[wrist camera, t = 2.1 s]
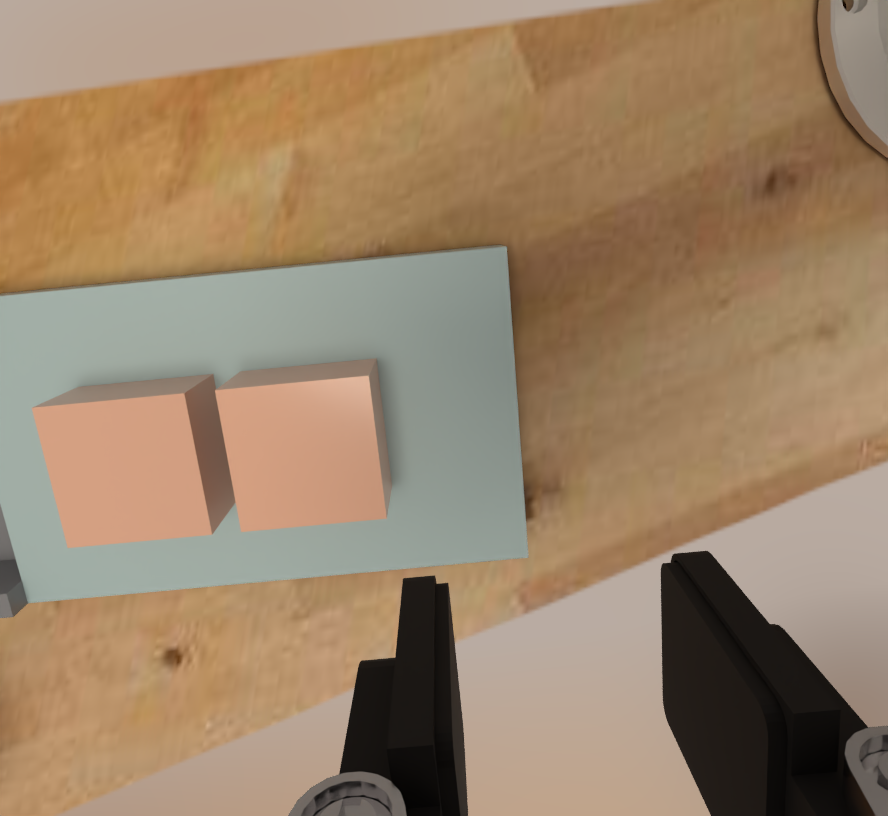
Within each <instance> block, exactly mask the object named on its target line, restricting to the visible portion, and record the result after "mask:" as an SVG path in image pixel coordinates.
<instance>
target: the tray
mask: <svg viewBox="0 0 888 816" xmlns="http://www.w3.org/2000/svg"><path fill="white" fill-rule="evenodd" d="M27 604H28V601H27V598H26V594H25V590H24V587H23V583H22V580H21V576H20V573H19V569H18V565H17V562H16V558H15V555H14V551H13V548H12V544H11V540H10V537H9V533H8V530H7V526H6V523H5V519H4V515H3V512H2V508H1V505H0V618H7V617H14V616H15V615H16V614H17V613H18V612H19V611H20V610H21V609H22V608H23V607H24V606H26V605H27Z"/></svg>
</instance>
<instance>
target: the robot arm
mask: <svg viewBox="0 0 888 816" xmlns="http://www.w3.org/2000/svg"><path fill="white" fill-rule="evenodd" d="M844 1H845V3H846V10H845V8H844V7H843V3H842V0H819V4H818V16H817V21H818V32H819V42H820V53H821V58H822V61H823V65H824V68H825V72H826V75H827V79H828V82H829V86H830V89H831V91H832V92H833V94H834V96H835V98H836V100H837V102H838V104H839V106H840V108H841V110H842V112H843V114H844V116H845V117H846V118H847V120H848V121H849V122H850V123H851V124H852V126H853V127H854V128H855V129H856V131H857V132H858V133H859V134H860V135H861V137H862V138H863V139H864V140H865V141H866V142H867V143H868V144H870V145H871V146H872V147H874V148H875V149H876V150H878V151H879V152H880V153H881V154H883V155H884V156H885V157H887V158H888V0H844ZM661 603H662V604H661V606H662V607H661V609H662V610H661V611H662V666H663V667H662V674H663V704H664V710H665V715H666V718H667V721H668V724H669V726H670V728H671V730H672V732H673V735H674V737H675V738H676V741H677V743H678V745H679V747H680V750H681V752H682V754H683V756H684V758H685V760H686V763H687V765H688V767H689V769H690V771H691V773H692V775H693V778H694V780H695V782H696V784H697V786H698V788H699V791H700V793H701V795H702V797H703V799H704V801H705V804H706V806H707V808H708V810H709V812H710V814H711V816H888V726H878V727H867V725H866V724H865V723H864V722H863V721H862V720H861V719H860V718H859V716H858V715H857V714H856V713H855V712H854V710H853V709H852V708H851V707H850V706H849V705H848V703H847V702H846V701H845V700H844V699H843V698H842V696H841V695H840V694H839V693H838V692H837V691H836V689H835V688H834V687H833V686H832V685H831V684H830V682H829V681H828V680H827V679H826V678H825V677H824V675H823V674H822V673H821V672H820V671H819V670H818V668H817V667H816V666H815V665H814V664H813V663H812V662H811V660H810V659H809V658H808V657H807V656H806V654H805V653H804V652H803V651H802V650H801V649H800V647H799V646H798V645H797V644H796V643H795V642H794V640H793V639H792V638H791V637H790V636H789V635H788V634H787V633H786V631H785V630H784V629H783V628H781V627H780V626H779V625H775V624H769V623H768V622H767V620H766V619H765V618H764V617H763V616H762V614H761V613H760V612H759V611H758V610H757V609H756V607H755V606H754V605H753V604H752V602H751V601H750V600H749V599H748V598H747V596H746V595H745V594H744V593H743V592H742V590H741V589H740V588H739V587H738V586H737V584H736V583H735V582H734V581H733V580H732V578H731V577H730V576H729V575H728V574H727V572H726V571H725V570H724V569H723V568H722V566H721V565H720V564H719V563H718V562H717V560H716V559H715V558H714V557H713V556H712V554H711V553H709V552H708V551H700V552H689V553H678V554H673V556H672V559H671V563H663V564H662V567H661ZM288 816H468V806H467V787H466V768H465V749H464V733H463V720H462V711H461V701H460V691H459V682H458V672H457V663H456V653H455V643H454V633H453V624H452V614H451V604H450V595H449V586H448V583H442V584H436V578H435V576H425V577H414V578H404V579H403V585H402V595H401V606H400V616H399V627H398V637H397V648H396V658H388V659H377V660H365V661H361V662H360V664H359V667H358V672H357V678H356V683H355V689H354V695H353V700H352V706H351V712H350V717H349V723H348V729H347V734H346V740H345V745H344V751H343V757H342V762H341V768H340V774H339V775H336V776H333V777H330V778H327V779H325V780H323V781H322V782H320V783H318V784H316V785H315V786H313V787H311V788H310V789H309V790H308V791H307V792H306V793H305V794H304V795H303V796H302V797H301V798H300V799H298V801H297V802H296V804H295V805H294V807H293V809H292V810H291V812H290V813H289V815H288Z"/></svg>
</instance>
